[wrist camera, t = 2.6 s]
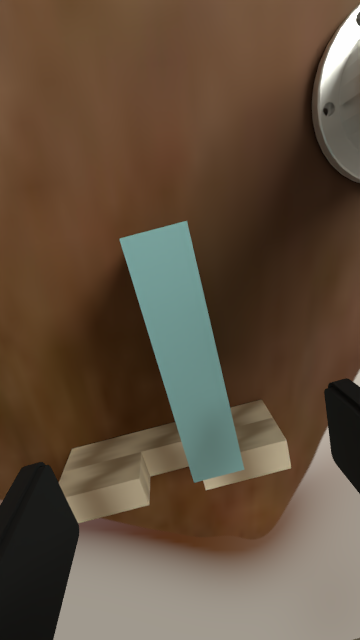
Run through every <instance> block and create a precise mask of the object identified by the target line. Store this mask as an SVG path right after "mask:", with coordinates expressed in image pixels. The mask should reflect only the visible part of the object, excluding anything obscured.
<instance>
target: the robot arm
mask: <svg viewBox="0 0 360 640" xmlns="http://www.w3.org/2000/svg"><path fill="white" fill-rule="evenodd" d="M323 111H324V112H325V114H324V112H323ZM312 118H313V125H314V129H315V134H316V138H317V140H318V143H319V145H320V147H321V150H322V152H323V154H324V155H325V157H326V158H327V160H328V161H329V162H330V164H331V165H332V166H333V167H334V168H335V169H336V170H337V171H338V172H339V173H340V174H342V175H343V176H345V177H347V178H349V179H350V180H352V181H354V182H358V183H360V4H359V5H358V6H357V7H356V8H355V9H354V10H353V11H352V12H351V13H350V14H349V16H348V17H347V18H346V19H345V20H344V22H343V23H342V24H341V25H340V26H339V27H338V29H337V30H336V32H335V34H334V35H333V37H332V38H331V40H330V42H329V43H328V45H327V47H326V49H325V51H324V54H323V56H322V58H321V61H320V63H319V66H318V69H317V73H316V77H315V81H314V86H313V95H312ZM324 393H325V402H326V411H327V419H328V428H329V436H330V445H331V453H332V457H333V459H334V461H335V463H336V464H337V466H338V467H339V468H340V470H341V471H342V472H343V473H344V475H345V476H346V477H347V478H348V480H349V481H350V482H351V483H352V485H353V486H354V487H355V488H356V489H357V491H358V492H359V493H360V387H359V386H358V385H356V384H355V383H354V382H352V381H351V380H349V379H342V380H339V381H335V382H332V383H329V385H328V388H327V389H325V391H324ZM78 537H79V525H78V522H77V520H76V518H75V516H74V514H73V512H72V510H71V508H70V506H69V504H68V501H67V499H66V497H65V495H64V493H63V491H62V489H61V487H60V485H59V483H58V481H57V479H56V477H55V475H54V473H53V471H52V469H51V467H50V466H49V465H45V464H44V463H43V462H39V463H35V464H32V465H28V466H24V467H23V468H22V469H21V470H20V472H19V473H18V475H17V477H16V479H15V480H14V482H13V484H12V486H11V487H10V489H9V491H8V493H7V494H6V496H5V498H4V500H3V502H2V503H1V505H0V640H53V638H54V634H55V629H56V625H57V621H58V618H59V613H60V610H61V606H62V602H63V598H64V593H65V590H66V586H67V581H68V577H69V573H70V569H71V565H72V561H73V557H74V553H75V549H76V545H77V541H78ZM354 640H360V638H358V639H354Z"/></svg>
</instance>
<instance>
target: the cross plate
mask: <svg viewBox="0 0 360 640" xmlns="http://www.w3.org/2000/svg"><path fill="white" fill-rule="evenodd" d="M120 243H121V246H122V249H123V252H124V256H125V259H126V262H127V265H128V269H129V272H130V275H131V279H132V282H133V285H134V288H135V292H136V295H137V298H138V301H139V305H140V308H141V311H142V314H143V318H144V321H145V324H146V327H147V331H148V334H149V337H150V341H151V344H152V347H153V350H154V354H155V357H156V360H157V363H158V367H159V370H160V373H161V376H162V380H163V383H164V386H165V389H166V393H167V396H168V399H169V403H170V406H171V409H172V412H173V416H174V419H175V422H176V425H177V429H178V432H179V435H180V438H181V442H182V445H183V448H184V451H185V455H186V458H187V461H188V464H189V468H190V471H191V474H192V478H193V481H194V483H195V482H199V481H203V480H207V479H210V478H214V477H218V476H222V475H226V474H230V473H234V472H237V471H241V470H244V466H243V461H242V457H241V453H240V448H239V444H238V440H237V435H236V431H235V427H234V422H233V418H232V414H231V410H230V405H229V401H228V397H227V392H226V388H225V384H224V379H223V375H222V371H221V366H220V362H219V358H218V353H217V349H216V345H215V340H214V336H213V332H212V328H211V323H210V319H209V315H208V310H207V306H206V302H205V297H204V293H203V289H202V284H201V280H200V276H199V271H198V267H197V263H196V258H195V254H194V250H193V246H192V241H191V237H190V233H189V228H188V224H187V221H184V222H180V223H176V224H173V225H169V226H165V227H161V228H158V229H154V230H150V231H146V232H143V233H139V234H135V235H131V236H127V237H124V238H120Z"/></svg>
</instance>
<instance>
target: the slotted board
mask: <svg viewBox="0 0 360 640" xmlns="http://www.w3.org/2000/svg"><path fill="white" fill-rule="evenodd" d="M230 410H231V414H232V418H233V422H234V427H235V431H236V435H237V440H238V444H239V448H240V453H241V457H242V461H243V466H244V470H241V471H237V472H234V473H230V474H226V475H222V476H218V477H214V478H210V479H207V480H203V482H204V485H205V489H206V490H209V489H213V488H217V487H220V486H224V485H228V484H232V483H236V482H240V481H244V480H247V479H251V478H255V477H259V476H263V475H267V474H271V473H274V472H278V471H282V470H286V469H290V468H291V464H290V458H289V452H288V446H287V440H286V438H285V437H284V435H283V434H282V432H281V430H280V429H279V427H278V425H277V424H276V422H275V420H274V419H273V417H272V416H271V414H270V412H269V411H268V409H267V407H266V406H265V404H264V402H263V401H262V399H261V400H257V401H254V402H250V403H246V404H242V405H238V406H234V407H231V408H230ZM185 467H189V464H188V461H187V458H186V455H185V451H184V448H183V445H182V442H181V438H180V435H179V432H178V429H177V425H176V422H173V423H169V424H166V425H162V426H158V427H154V428H150V429H146V430H143V431H139V432H135V433H131V434H127V435H123V436H120V437H116V438H112V439H108V440H104V441H100V442H97V443H93V444H89V445H85V446H81V447H77V448H74V449H72V450H71V453H70V455H69V458H68V460H67V463H66V466H65V468H64V471H63V473H62V476H61V478H60V481H59V485H60V487H61V489H62V491H63V493H64V495H65V497H66V499H67V501H68V504H69V506H70V508H71V510H72V512H73V514H74V516H75V518H76V520H77V522H78V523H82V522H85V521H89V520H93V519H97V518H101V517H105V516H109V515H112V514H116V513H120V512H124V511H128V510H132V509H136V508H139V507H143V506H147V505H149V501H150V476H154V475H158V474H162V473H166V472H169V471H173V470H177V469H181V468H185Z"/></svg>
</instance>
